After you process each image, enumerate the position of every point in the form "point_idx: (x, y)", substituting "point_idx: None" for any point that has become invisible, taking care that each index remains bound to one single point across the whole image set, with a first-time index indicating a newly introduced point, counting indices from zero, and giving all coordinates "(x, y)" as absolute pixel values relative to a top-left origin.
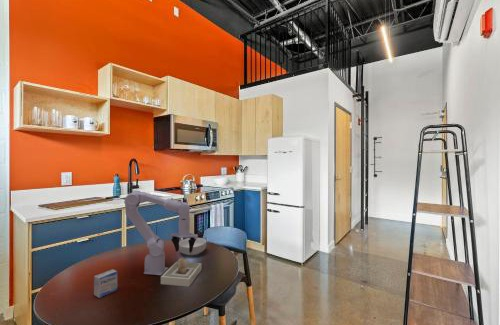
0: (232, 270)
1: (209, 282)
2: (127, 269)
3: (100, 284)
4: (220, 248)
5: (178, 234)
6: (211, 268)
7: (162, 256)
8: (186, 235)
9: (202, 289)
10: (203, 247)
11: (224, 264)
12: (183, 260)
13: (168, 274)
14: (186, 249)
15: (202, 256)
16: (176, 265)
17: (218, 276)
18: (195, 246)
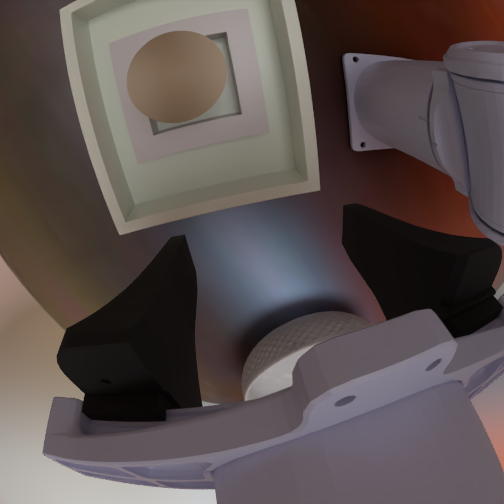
0: (16, 270)
1: (14, 118)
2: None
3: None
4: (208, 398)
5: (464, 393)
6: (95, 250)
7: (425, 97)
8: (230, 465)
9: (13, 49)
10: (242, 378)
11: (79, 306)
12: (147, 62)
13: (280, 34)
14: (324, 329)
15: (236, 335)
16: (300, 159)
17: (16, 193)
18: None
